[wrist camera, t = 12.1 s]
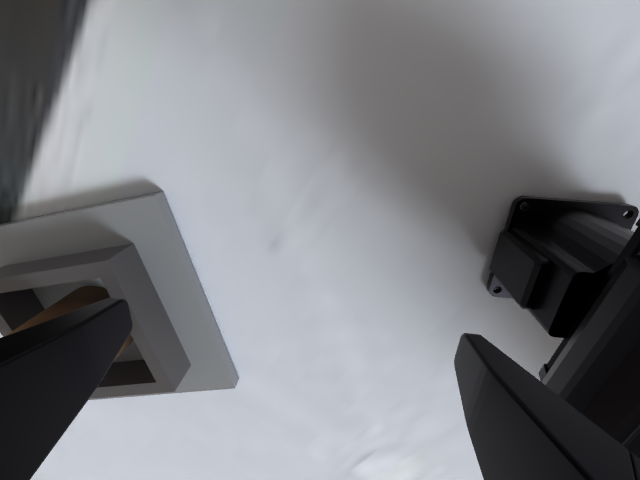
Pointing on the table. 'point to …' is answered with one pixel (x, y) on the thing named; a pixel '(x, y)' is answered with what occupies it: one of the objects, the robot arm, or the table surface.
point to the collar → (121, 291)
